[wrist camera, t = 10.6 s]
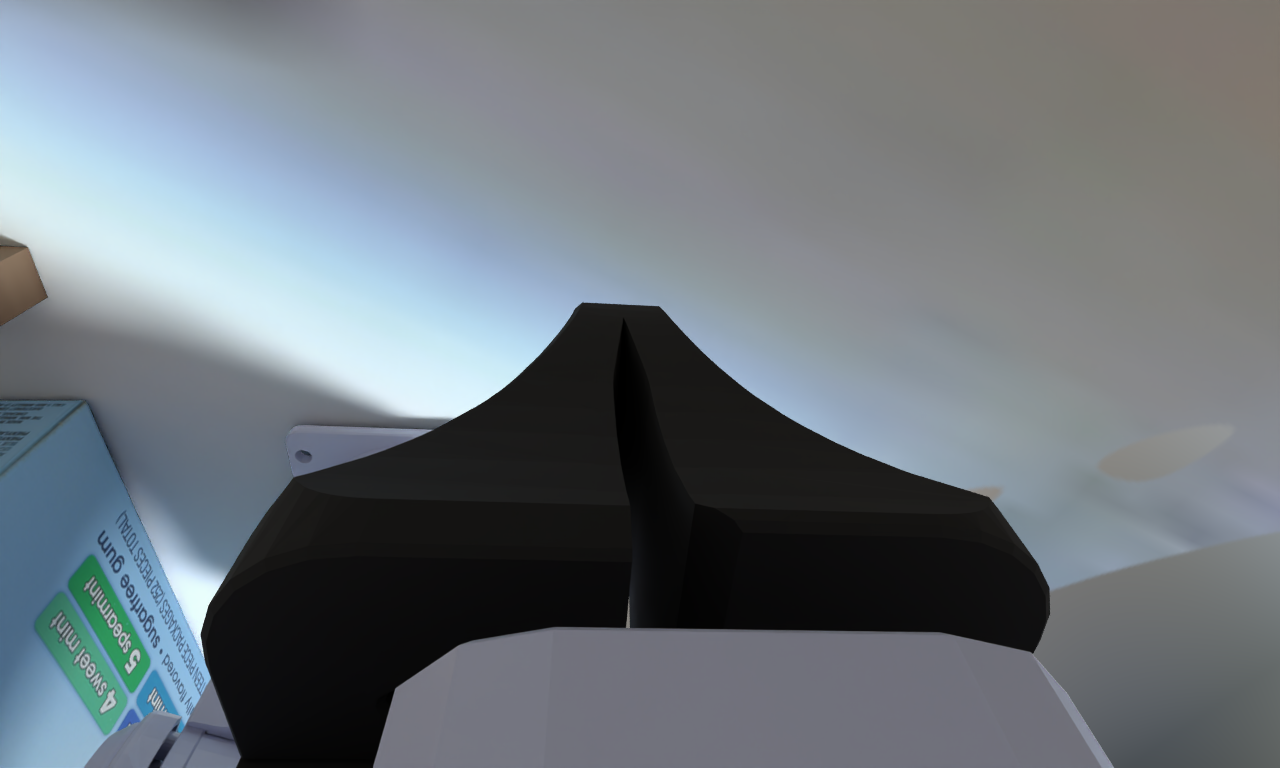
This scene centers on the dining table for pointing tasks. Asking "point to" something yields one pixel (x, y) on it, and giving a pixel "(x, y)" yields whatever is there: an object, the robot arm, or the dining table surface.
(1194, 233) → the dining table surface
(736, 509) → the robot arm
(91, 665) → the gum box
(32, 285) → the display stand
